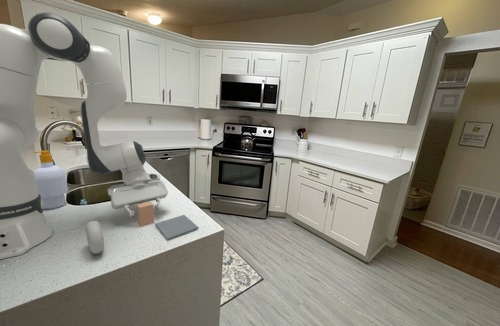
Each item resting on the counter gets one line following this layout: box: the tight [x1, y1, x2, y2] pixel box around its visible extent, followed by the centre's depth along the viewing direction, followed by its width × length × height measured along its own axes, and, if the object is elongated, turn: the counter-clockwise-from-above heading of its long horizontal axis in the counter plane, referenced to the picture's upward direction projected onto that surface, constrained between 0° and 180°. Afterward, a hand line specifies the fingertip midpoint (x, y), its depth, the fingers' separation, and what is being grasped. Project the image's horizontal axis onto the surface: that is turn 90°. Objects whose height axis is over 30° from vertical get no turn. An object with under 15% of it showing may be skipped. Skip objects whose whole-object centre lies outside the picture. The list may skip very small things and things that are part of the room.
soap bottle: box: [32, 149, 69, 210], centre depth 87 cm, size 10×10×24 cm
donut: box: [85, 220, 105, 255], centre depth 64 cm, size 10×4×10 cm, turn 45°
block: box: [136, 201, 155, 228], centre depth 81 cm, size 5×3×8 cm, turn 133°
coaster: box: [154, 214, 199, 242], centre depth 80 cm, size 12×12×1 cm
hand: (145, 212), depth 81 cm, fingers open, 8 cm apart
